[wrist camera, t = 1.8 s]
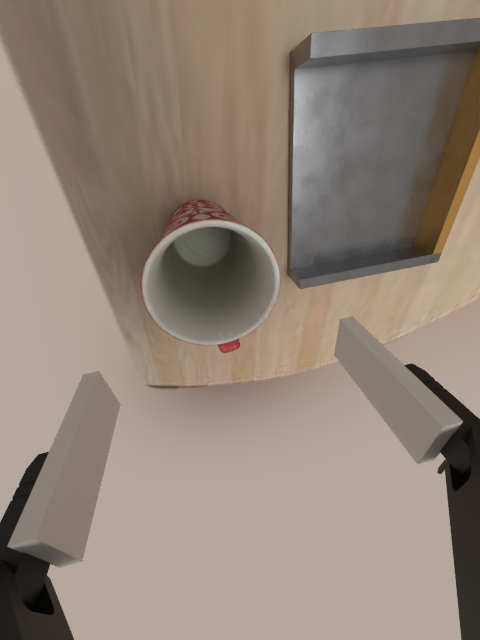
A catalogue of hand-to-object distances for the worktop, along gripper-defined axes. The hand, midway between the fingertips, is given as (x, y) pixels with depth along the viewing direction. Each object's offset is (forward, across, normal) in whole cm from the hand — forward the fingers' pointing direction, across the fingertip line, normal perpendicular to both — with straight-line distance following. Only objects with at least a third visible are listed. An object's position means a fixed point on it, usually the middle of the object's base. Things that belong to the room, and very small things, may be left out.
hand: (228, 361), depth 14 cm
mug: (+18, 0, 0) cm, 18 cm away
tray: (+18, +19, +5) cm, 27 cm away
